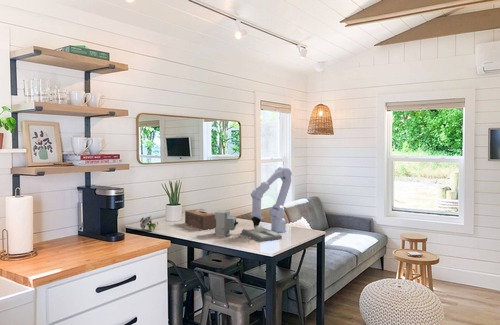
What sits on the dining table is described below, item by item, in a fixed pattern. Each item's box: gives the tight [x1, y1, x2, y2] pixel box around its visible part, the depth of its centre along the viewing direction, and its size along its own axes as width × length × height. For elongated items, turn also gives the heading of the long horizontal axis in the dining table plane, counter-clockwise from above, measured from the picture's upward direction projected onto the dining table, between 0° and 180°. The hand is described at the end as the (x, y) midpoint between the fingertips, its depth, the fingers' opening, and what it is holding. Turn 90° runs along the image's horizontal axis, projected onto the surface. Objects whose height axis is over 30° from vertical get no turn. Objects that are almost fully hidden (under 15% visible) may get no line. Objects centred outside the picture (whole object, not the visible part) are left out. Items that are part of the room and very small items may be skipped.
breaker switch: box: [254, 225, 263, 232], centre depth 255 cm, size 3×4×4 cm
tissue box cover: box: [184, 208, 216, 231], centre depth 280 cm, size 26×14×10 cm, turn 39°
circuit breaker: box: [214, 209, 239, 237], centre depth 255 cm, size 8×14×15 cm, turn 78°
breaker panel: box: [241, 226, 283, 243], centre depth 252 cm, size 16×24×3 cm, turn 30°
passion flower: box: [139, 215, 159, 233], centre depth 263 cm, size 11×11×12 cm
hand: (256, 228), depth 257 cm, fingers closed
